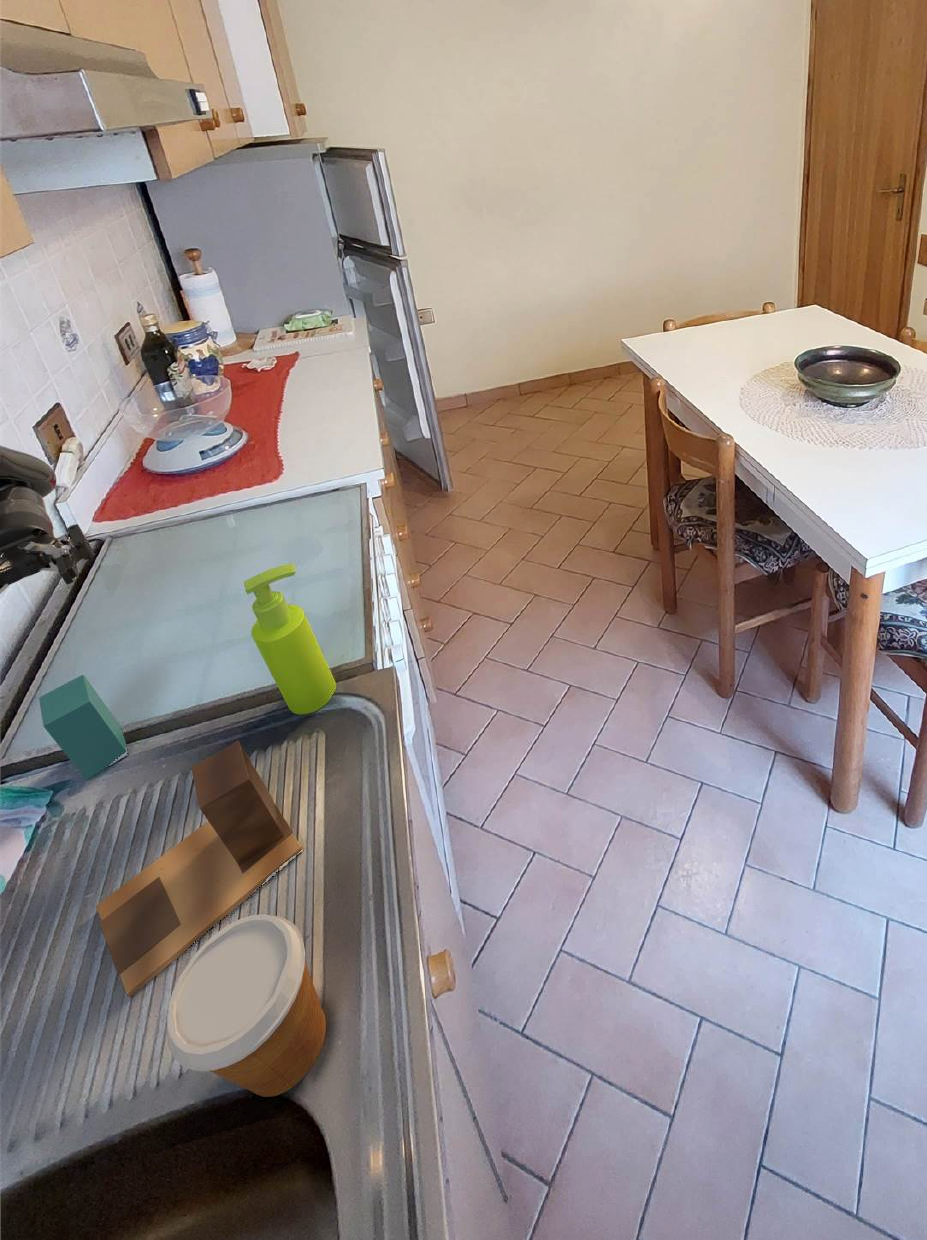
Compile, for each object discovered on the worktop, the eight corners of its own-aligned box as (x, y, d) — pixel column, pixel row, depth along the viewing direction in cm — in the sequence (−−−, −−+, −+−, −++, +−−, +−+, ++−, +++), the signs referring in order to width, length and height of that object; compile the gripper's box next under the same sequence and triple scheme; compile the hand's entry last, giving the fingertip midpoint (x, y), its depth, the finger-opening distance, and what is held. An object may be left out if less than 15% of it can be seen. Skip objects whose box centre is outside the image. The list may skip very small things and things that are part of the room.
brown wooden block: (239, 865, 69) (199, 808, 65) (229, 824, 73) (191, 767, 68) (284, 836, 72) (249, 778, 67) (272, 797, 76) (238, 740, 71)
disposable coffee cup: (271, 1156, 51) (208, 1096, 45) (199, 1078, 56) (132, 1013, 50) (369, 1013, 58) (325, 945, 53) (298, 954, 63) (250, 885, 57)
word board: (128, 998, 61) (124, 994, 60) (98, 910, 68) (93, 905, 67) (304, 850, 71) (302, 845, 71) (262, 785, 78) (260, 781, 77)
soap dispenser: (349, 693, 88) (297, 577, 78) (292, 723, 85) (231, 606, 75) (338, 664, 92) (288, 551, 83) (284, 691, 89) (226, 577, 80)
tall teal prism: (86, 780, 80) (43, 726, 76) (80, 750, 84) (38, 697, 79) (129, 755, 83) (89, 700, 78) (121, 727, 87) (83, 673, 82)
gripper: (-72, 541, 85) (-77, 607, 74) (66, 489, 93) (80, 542, 82) (-38, 585, 88) (-38, 655, 78) (92, 531, 96) (109, 588, 85)
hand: (23, 597), depth 80 cm, fingers open, 8 cm apart
